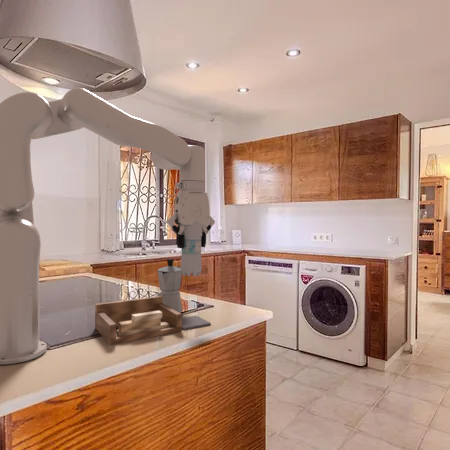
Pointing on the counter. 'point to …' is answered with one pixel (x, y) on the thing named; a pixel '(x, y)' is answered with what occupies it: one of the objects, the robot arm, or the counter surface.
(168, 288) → the coffee maker
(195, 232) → the bottle
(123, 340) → the rack
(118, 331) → the offcut stack
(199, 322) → the mat
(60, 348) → the counter surface
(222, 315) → the counter surface
